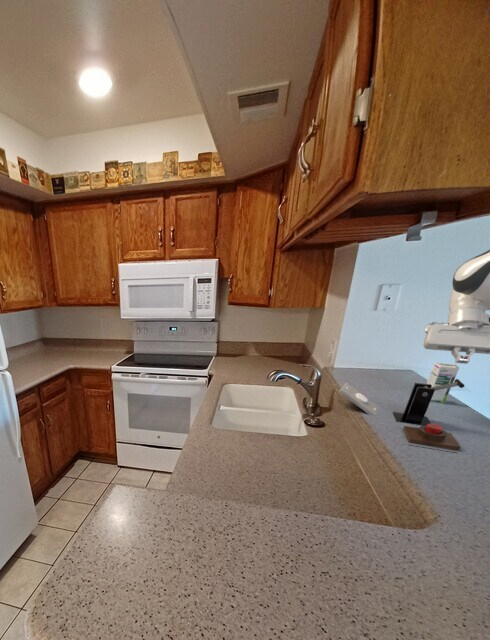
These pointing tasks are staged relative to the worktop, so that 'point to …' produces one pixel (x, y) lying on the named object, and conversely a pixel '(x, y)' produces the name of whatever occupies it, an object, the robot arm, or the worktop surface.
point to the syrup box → (442, 380)
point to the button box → (431, 438)
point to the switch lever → (448, 385)
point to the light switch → (359, 400)
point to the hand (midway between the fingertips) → (462, 362)
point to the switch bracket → (416, 406)
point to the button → (434, 428)
